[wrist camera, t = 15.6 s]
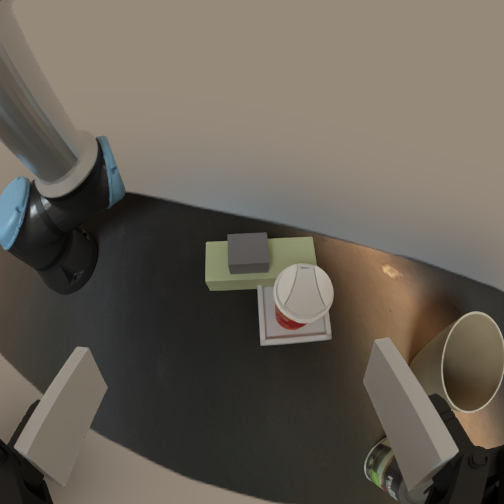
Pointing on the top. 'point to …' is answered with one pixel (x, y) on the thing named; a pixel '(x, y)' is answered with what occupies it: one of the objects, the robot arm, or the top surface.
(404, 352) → the top surface
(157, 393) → the top surface
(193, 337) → the top surface
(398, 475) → the coffee can
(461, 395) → the plant pot
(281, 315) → the paper cup
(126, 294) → the top surface
